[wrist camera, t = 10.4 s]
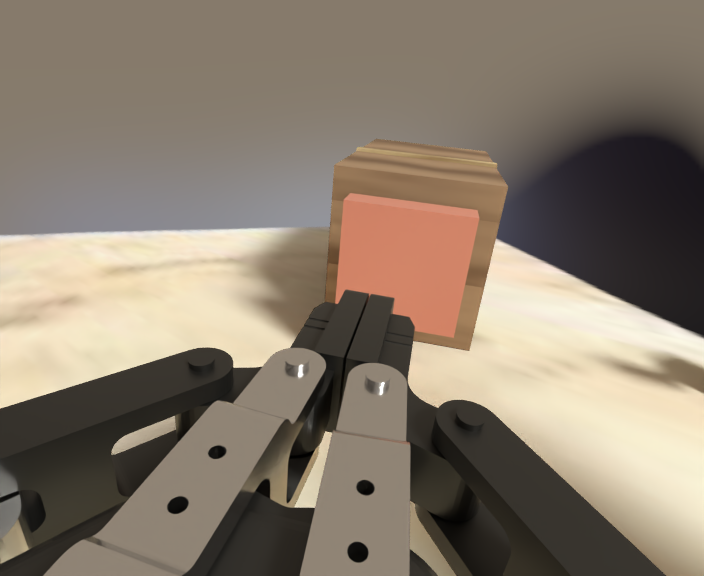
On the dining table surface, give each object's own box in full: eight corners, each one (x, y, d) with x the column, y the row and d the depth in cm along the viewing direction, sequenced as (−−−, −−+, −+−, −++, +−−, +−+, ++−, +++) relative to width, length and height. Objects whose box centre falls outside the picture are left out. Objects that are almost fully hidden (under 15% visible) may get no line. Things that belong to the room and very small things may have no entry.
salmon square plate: (453, 337, 29) (479, 218, 25) (334, 316, 30) (343, 199, 26) (452, 243, 47) (467, 166, 43) (377, 232, 48) (386, 156, 44)
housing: (469, 350, 35) (509, 183, 29) (322, 323, 37) (333, 161, 31) (463, 263, 53) (487, 149, 47) (364, 248, 55) (376, 136, 49)
